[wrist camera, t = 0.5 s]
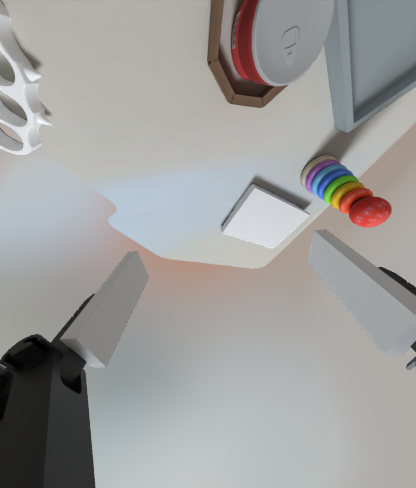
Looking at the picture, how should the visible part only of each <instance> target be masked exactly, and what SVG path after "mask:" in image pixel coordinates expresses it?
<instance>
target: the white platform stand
mask: <svg viewBox="0 0 416 488" xmlns="http://www.w3.org/2000/svg"><path fill="white" fill-rule="evenodd" d="M309 216H310V214H309V213H308V212H307V211H305V210H303V209H301V208H299V207H298V206H297V205H295V204H293V203H291V202H289V201H287V200H285V199H283V198H281V197H279V196H277V195H275V194H273V193H271V192H269V191H267V190H265V189H263V188H261V187H258V186H257V185H255V184H252V185H250V186H249V188H248V189H247V191H246V192H245V193H244V195H243V196H242V198H241V199H240V201H239V202H238V203H237V205H236V206H235V208H234V210H233V212H232V213H231V214H230V215H229V217H228V219H227V221H226V222H225V223H224V225H223V227H222V228H221V231H222V233H223V234H226V235H230V236H233V237H236V238H239V239H242V240H245V241H248V242H251V243H255V244H258V245H261V246H264V247H267V248H270V249H274V248H275V247H276V246H277V245H278V244H279V243H281V242H282V241H283V240H284V239H285V238H286V237H287V236H288V235H289V234H291V233H292V232H293V231H294V230H295V229H296V228H297V227H298V226H299V225H300V224H302V223H303V222H304V221H305V220H306V219H307V218H308V217H309Z"/></svg>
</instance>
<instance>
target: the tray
mask: <svg viewBox="0 0 416 488" xmlns="http://www.w3.org/2000/svg"><path fill="white" fill-rule="evenodd" d="M324 46H325V54H326V61H327V69H328V76H329V84H330V91H331V99H332V107H333V114H334V122H335V129H338V130H340V131H343V132H346V133H349V132H350V131H352V130H353V129H355V128H356V127H358V126H359V125H361V124H362V123H364V122H365V121H367V120H368V119H369V118H371V117H372V116H374V115H375V114H377V113H378V112H380V111H381V110H383V109H384V108H385V107H387V106H388V105H390V104H391V103H393V102H394V101H396V100H397V99H399V98H400V97H402V96H403V95H404V94H406V93H407V92H409V91H410V90H412V89H413V88H415V87H416V0H336V2H335V10H334V15H333V19H332V23H331V26H330V30H329V33H328V36H327V38H326V40H325V43H324Z"/></svg>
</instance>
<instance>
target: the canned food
mask: <svg viewBox="0 0 416 488" xmlns="http://www.w3.org/2000/svg"><path fill="white" fill-rule="evenodd" d="M335 2H336V0H244V1H243V3H242V4H241V6H240V8H239V10H238V12H237V15H236V17H235V21H234V24H233V28H232V34H231V54H232V60H233V63H234V66H235V69H236V70H237V72H238V74H239V75H240V76H241V77H242V78H243V79H245V80H246V81H249V82H253V83H259V84H264V85H269V86H285V85H288V84H291V83H293V82H294V81H296V80H297V79H299V78H300V77H301V76H302V75H304V73H305V72H306V71H307V70H308V69H309V68H310V67H311V65H312V64H313V62H314V61H315V60H316V58H317V56H318V55H319V53H320V51H321V49H322V47H323V45H324V43H325V40H326V38H327V36H328V33H329V30H330V26H331V23H332V19H333V15H334V10H335Z"/></svg>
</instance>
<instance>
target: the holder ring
mask: <svg viewBox="0 0 416 488" xmlns="http://www.w3.org/2000/svg"><path fill="white" fill-rule="evenodd" d="M223 2H224V0H211V14H210V28H209V43H208V57H207V62H210V63H209V64H208V66H209V68H210V70H211V72H212V74H213V76H214V77H215V79H216V81H217V83H218V85H219V87H220V89H221V91H222V92H223V94H224V96H225V98H226V100H227V101H228V102H229V103H230V104H235V105H242V106H250V107H257V108H262V107H264V106H265V105H267V104H268V103H269V102H270V101H271V100H272V99H273V98H274V97H275V96H276V95H277V94H279V93H280V92H281V91H282V90H283V89H284V88H285V87H286V86H287V85H285V86H269V87H268V88H267V89H266V90H265V91H264V92H262V93H261V94H260V95H259V96H258V97H257V96H250V95H243V94H236V93H234V91H233V89H232V87H231V85H230V83H229V81H228V79H227V77H226V75H225V73H224V71H223V69H222V67H221V65H220V63H219V60H218V52H219V42H220V32H221V22H222V12H223Z"/></svg>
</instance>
